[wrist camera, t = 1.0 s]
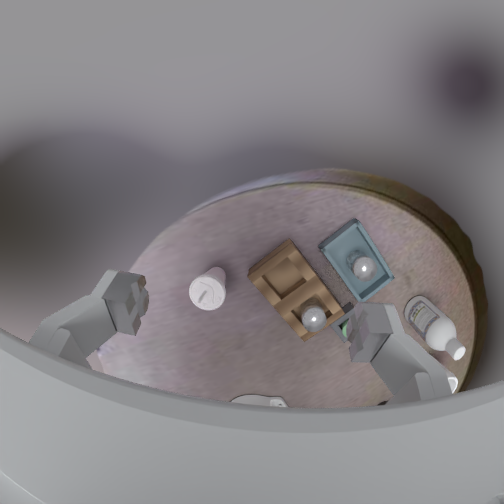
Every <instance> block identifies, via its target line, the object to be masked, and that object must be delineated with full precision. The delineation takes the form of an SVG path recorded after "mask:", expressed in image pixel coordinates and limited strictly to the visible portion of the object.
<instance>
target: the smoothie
mask: <svg viewBox="0 0 504 504" xmlns="http://www.w3.org/2000/svg"><path fill="white" fill-rule="evenodd" d="M225 279H226V274H225V272H224V270H223V269H222V268H220V267H213V268H211V269H210V270H208V271H207V272H206V273H205V274H203V275H201V276H198V277H197V278H195V279H194V280H193V282H192V284H191V285H190V288H189V295H190V298H191V300H192V302H193V303H194V304H195V305H196V306H197V307H199V308H200V309H203V310H214V309H217V308H218V307H220V306H221V305H222V303H223V302H224V300H225V297H226V289H225Z"/></svg>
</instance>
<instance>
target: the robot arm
mask: <svg viewBox="0 0 504 504" xmlns="http://www.w3.org/2000/svg"><path fill="white" fill-rule="evenodd" d="M145 284H146V280H145V276H143V275H140V274H134V273H129V272H124V271H117V270H113V269H109V270H107V271H106V273H105V274H104V276H103V277H102V278H101V280H100V281H99V283H98V284H97V286H96V287H95V289H94V290H93V292H92V293H91V295H90V296H89V295H86V296H84V297H83V298H81V299H79V300H77V301H75V302H73V303H72V304H70V305H68V306H67V307H65V308H63V309H61V310H59V311H58V312H56V313H54V314H52V315H51V316H49V317H47V318H45V319H44V320H42V322H41V324H40V325H39V327H38V328H37V330H36V331H35V333H34V335H33V336H32V338H31V339H30V341H29V343H28V342H26V341H24V340H22V339H20V338H18V337H16V336H14V335H12V334H10V333H8V332H6V331H5V330H3V329H1V328H0V504H504V380H503V381H500V382H497V383H494V384H490V385H487V386H484V387H480V388H476V389H472V390H469V391H465V392H460V393H456V394H452V390H451V387H450V384H449V381H448V378H447V375H446V372H445V369H444V368H443V367H442V366H441V365H440V364H439V363H438V362H437V361H436V360H435V359H434V358H433V357H432V356H431V355H429V354H428V353H427V352H426V351H425V350H424V349H423V348H422V347H421V346H420V345H419V344H418V343H417V342H416V341H415V340H414V339H413V338H412V337H411V336H409V335H408V334H405V332H404V330H403V327H402V324H401V321H400V319H399V316H398V314H397V311H396V308H395V306H394V305H393V304H392V303H374V302H358V303H357V304H356V305H355V307H354V311H355V313H354V314H353V315H351V316H350V318H349V320H348V322H347V327H346V335H347V340H348V341H349V342H350V343H351V345H350V347H349V352H350V357H351V362H370V364H371V365H372V367H373V368H374V369H375V371H376V372H377V373H378V375H379V376H380V377H381V379H382V380H383V381H384V383H385V384H386V385H387V387H388V388H389V390H390V391H391V392H392V394H393V395H394V396H393V397H392V398H391V399H390V400H389V401H388V402H387V403H386V404H385V405H379V406H366V407H348V408H293V407H288V405H287V404H286V402H285V401H284V400H283V398H281V397H265V396H261V395H244V396H240V397H237V398H235V399H234V400H232V401H231V402H226V401H219V400H212V399H206V398H200V397H195V396H189V395H184V394H179V393H174V392H170V391H165V390H161V389H157V388H153V387H149V386H145V385H141V384H137V383H133V382H130V381H126V380H123V379H120V378H116V377H113V376H110V375H107V374H104V373H101V372H98V371H95V370H92V368H91V366H90V365H89V363H88V361H87V360H86V357H87V356H89V355H90V354H91V353H92V352H94V351H95V350H96V349H97V348H99V347H100V346H101V345H102V344H103V343H105V342H106V341H107V340H108V339H110V338H111V337H112V336H113V335H115V334H116V333H117V332H121V333H125V334H130V335H135V336H136V334H137V331H138V329H139V327H140V325H141V320H140V317H142V316H143V315H145V313H146V311H147V309H148V304H149V295H148V291H147V290H146V289H145V288H144V286H145ZM280 403H281V404H280Z"/></svg>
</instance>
